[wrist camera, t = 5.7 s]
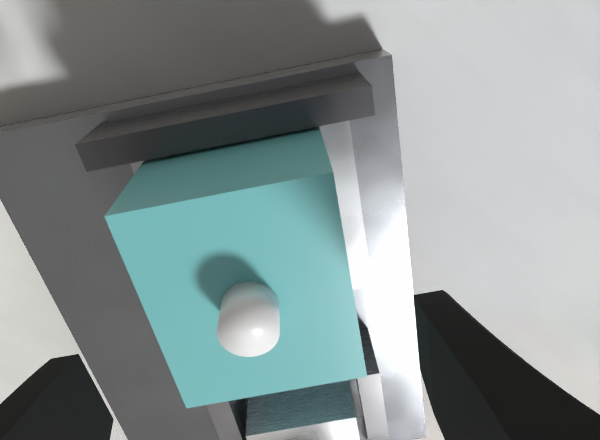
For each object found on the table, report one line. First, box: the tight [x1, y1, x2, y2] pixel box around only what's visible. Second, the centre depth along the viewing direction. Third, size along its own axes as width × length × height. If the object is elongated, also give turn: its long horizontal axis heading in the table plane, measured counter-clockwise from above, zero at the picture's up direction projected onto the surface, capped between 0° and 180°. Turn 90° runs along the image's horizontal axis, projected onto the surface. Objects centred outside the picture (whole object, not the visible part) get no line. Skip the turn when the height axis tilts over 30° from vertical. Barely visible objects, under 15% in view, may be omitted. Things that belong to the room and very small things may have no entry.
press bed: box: [0, 50, 426, 440], centre depth 17 cm, size 13×17×4 cm
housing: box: [104, 127, 367, 408], centre depth 13 cm, size 5×6×6 cm
